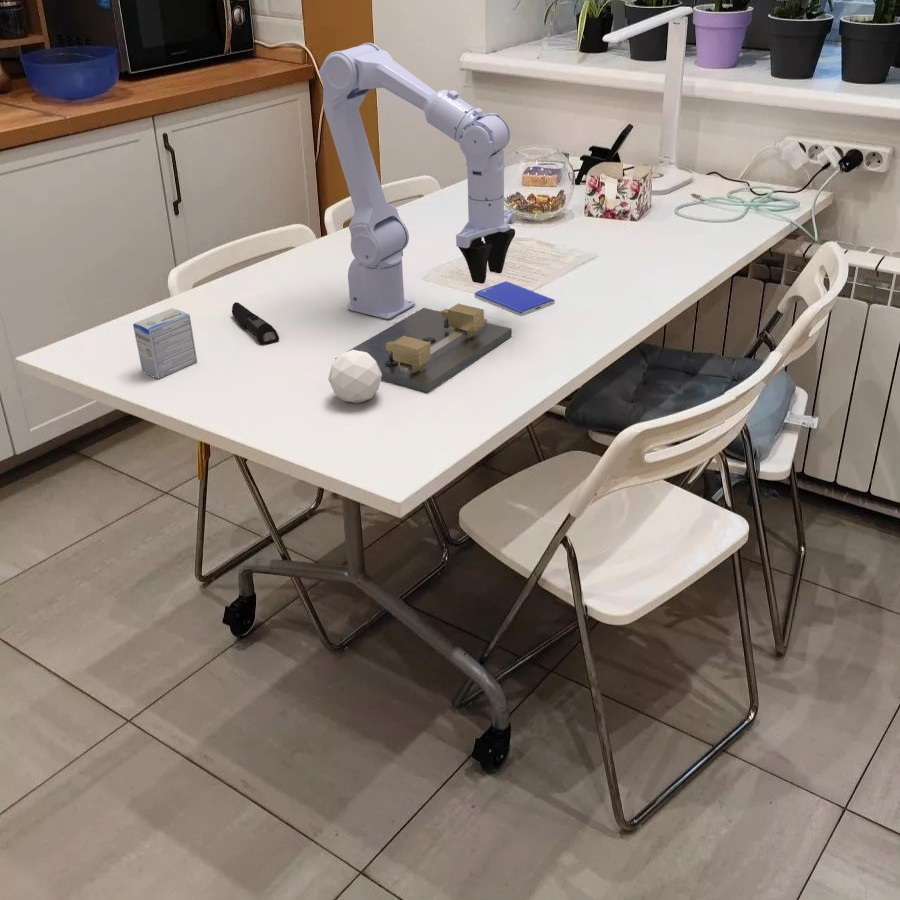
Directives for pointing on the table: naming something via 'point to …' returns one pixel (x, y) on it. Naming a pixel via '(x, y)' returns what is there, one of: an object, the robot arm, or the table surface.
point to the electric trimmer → (255, 325)
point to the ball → (355, 376)
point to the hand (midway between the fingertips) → (487, 277)
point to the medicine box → (165, 342)
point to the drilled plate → (439, 365)
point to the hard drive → (514, 298)
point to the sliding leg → (464, 318)
